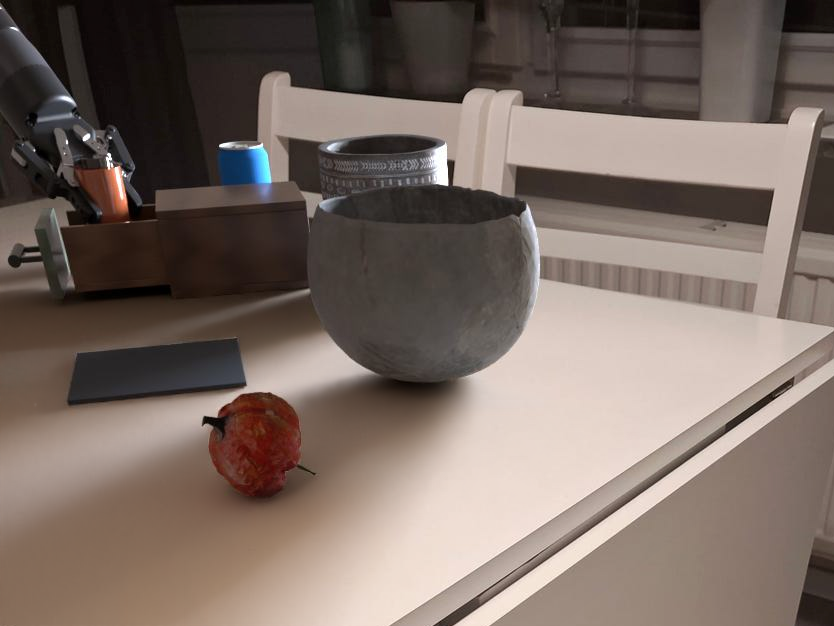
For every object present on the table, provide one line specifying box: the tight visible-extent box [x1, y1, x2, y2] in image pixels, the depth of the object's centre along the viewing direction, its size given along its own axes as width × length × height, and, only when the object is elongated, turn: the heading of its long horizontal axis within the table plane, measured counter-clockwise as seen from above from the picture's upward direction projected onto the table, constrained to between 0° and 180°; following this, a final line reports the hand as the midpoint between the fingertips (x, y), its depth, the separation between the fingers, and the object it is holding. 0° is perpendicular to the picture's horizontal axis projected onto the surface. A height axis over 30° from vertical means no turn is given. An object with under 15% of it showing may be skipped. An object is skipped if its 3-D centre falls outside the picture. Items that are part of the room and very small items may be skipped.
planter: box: [317, 133, 449, 201], centre depth 115 cm, size 14×14×15 cm
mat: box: [66, 337, 248, 406], centre depth 97 cm, size 16×14×1 cm
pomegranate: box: [201, 391, 317, 498], centre depth 74 cm, size 7×7×10 cm
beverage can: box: [217, 140, 272, 186], centre depth 134 cm, size 6×6×12 cm
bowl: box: [307, 184, 541, 384], centre depth 90 cm, size 20×20×15 cm
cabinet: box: [155, 180, 311, 300], centre depth 121 cm, size 17×13×9 cm
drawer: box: [7, 203, 170, 300], centre depth 118 cm, size 20×12×7 cm, turn 104°
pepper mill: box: [74, 154, 132, 225], centre depth 116 cm, size 5×5×12 cm
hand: (118, 216), depth 115 cm, fingers closed on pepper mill, 5 cm apart
